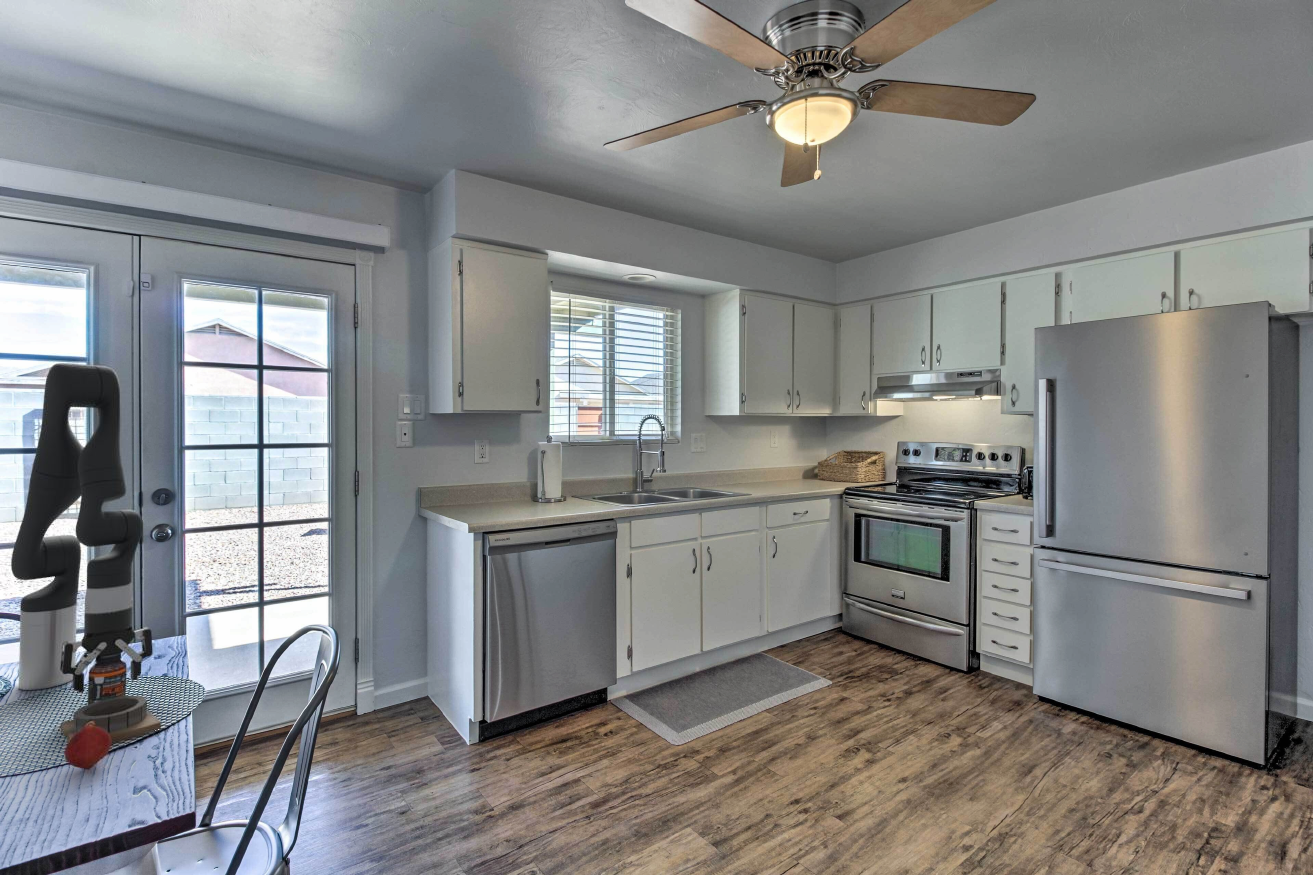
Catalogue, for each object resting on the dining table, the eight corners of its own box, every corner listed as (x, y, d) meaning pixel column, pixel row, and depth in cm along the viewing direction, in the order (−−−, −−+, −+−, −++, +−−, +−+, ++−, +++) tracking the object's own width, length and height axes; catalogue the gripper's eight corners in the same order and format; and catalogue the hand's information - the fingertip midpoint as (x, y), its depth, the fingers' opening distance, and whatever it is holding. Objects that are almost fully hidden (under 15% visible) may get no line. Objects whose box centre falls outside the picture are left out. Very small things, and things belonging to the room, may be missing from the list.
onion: (71, 781, 102) (72, 732, 102) (59, 771, 105) (60, 723, 105) (116, 766, 107) (117, 719, 107) (103, 757, 110) (104, 711, 110)
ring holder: (60, 730, 120) (60, 706, 120) (139, 709, 129) (140, 688, 129) (77, 753, 111) (77, 728, 111) (160, 729, 121) (161, 706, 121)
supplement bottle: (102, 715, 126) (104, 659, 126) (79, 712, 127) (80, 657, 127) (133, 703, 132) (134, 650, 132) (110, 700, 133) (111, 647, 133)
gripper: (146, 597, 138) (145, 671, 137) (58, 610, 126) (56, 691, 126) (157, 603, 133) (155, 679, 133) (66, 617, 122) (64, 700, 122)
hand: (107, 685), depth 130 cm, fingers open, 8 cm apart
